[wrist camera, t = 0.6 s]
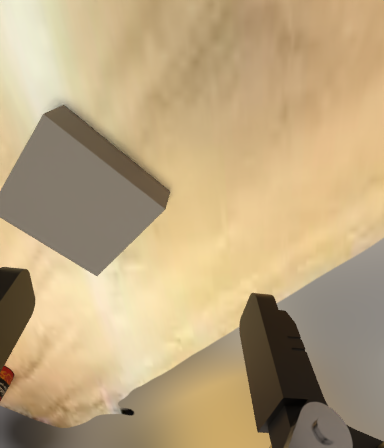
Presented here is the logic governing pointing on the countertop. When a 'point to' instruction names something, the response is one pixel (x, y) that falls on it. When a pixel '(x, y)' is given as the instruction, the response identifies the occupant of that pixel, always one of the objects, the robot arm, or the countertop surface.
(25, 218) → the plate
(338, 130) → the countertop surface
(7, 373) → the canned food
